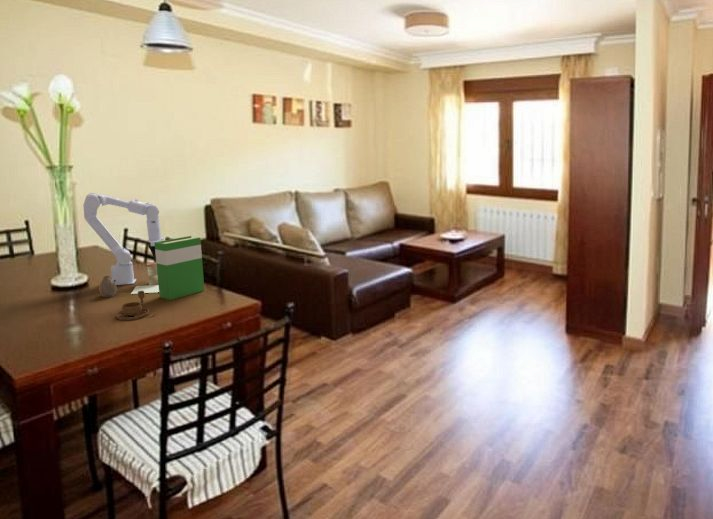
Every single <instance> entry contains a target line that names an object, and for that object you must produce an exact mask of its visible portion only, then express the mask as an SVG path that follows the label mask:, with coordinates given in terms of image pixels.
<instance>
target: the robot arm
mask: <svg viewBox="0 0 713 519" xmlns="http://www.w3.org/2000/svg"><path fill="white" fill-rule="evenodd" d="M107 205H110V206H115V207H118V208H125V209H127V210H128V212H130V213H133V214H137V215H141V216H145V215H146V227H147V228H146V229H147V236H148V239H147V242H149V244H148V245H147V247H148V249H149V250H150V252H151V254H152V258H153V260H156V253H155V243H154V242H159V241H164V240H165V238H163V237H162V232H161V222H160V218H159V213H160V210H159V208H158V207H157V206H156V205H155V204H153V203H150V202H142V201H139V200H138V199H137V198H135V199H131V200H129V201H127V200H123V199H121V198H117V197H113V196H110V195H106V194H102V193H100V194H97V193H93V192H91V193H88V194H87V195H86V196H85V199H84V202H83V205H82V206H83V217H84V220H85V221H86V222H87V224H88V225H89V226H90V227H91V229H92V230H93V231H94V232H95V233H96V234H97V235H98V237H99V238H100V239H101V241H103V243H104V244H105V245H106V246H107V247H108V249H109V250H110V251H111V253H112V254H113V256H114V257H115V259H116V263H115V264H112V265H111V266H110V278H111V279H112V280H113V281H114V282H115V284H116V286H120V285H121V286H122V285H134V284H135V282H136V281H137V278H135V275H134V273H135V272H134V265H133V264H134V263H133V261H131V260H132V256H131V252H130V251H129V249H127V248H125V247H123V245H122V244H120V242H119V241H118V240H117V239H116V238H115V237H114V236H113V234H112V233H111V232H110V230H108V228H107V227H106V226H105V224H103V222H102V221H101V220H100V218H99V217H98V216H97V213H98V209H99V208H100V206H102V207H103V206H107Z"/></svg>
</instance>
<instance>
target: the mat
mask: <svg viewBox="0 0 713 519" xmlns="http://www.w3.org/2000/svg"><path fill="white" fill-rule="evenodd" d="M138 291H144V295H146V294H145V293H149V294H159V293H158V292H159V285H149V284H148V285H147V284H145V285H136V286H135V287H134V288H133V290H132V291H131V293H130V295H132V294H133V295H138Z"/></svg>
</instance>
